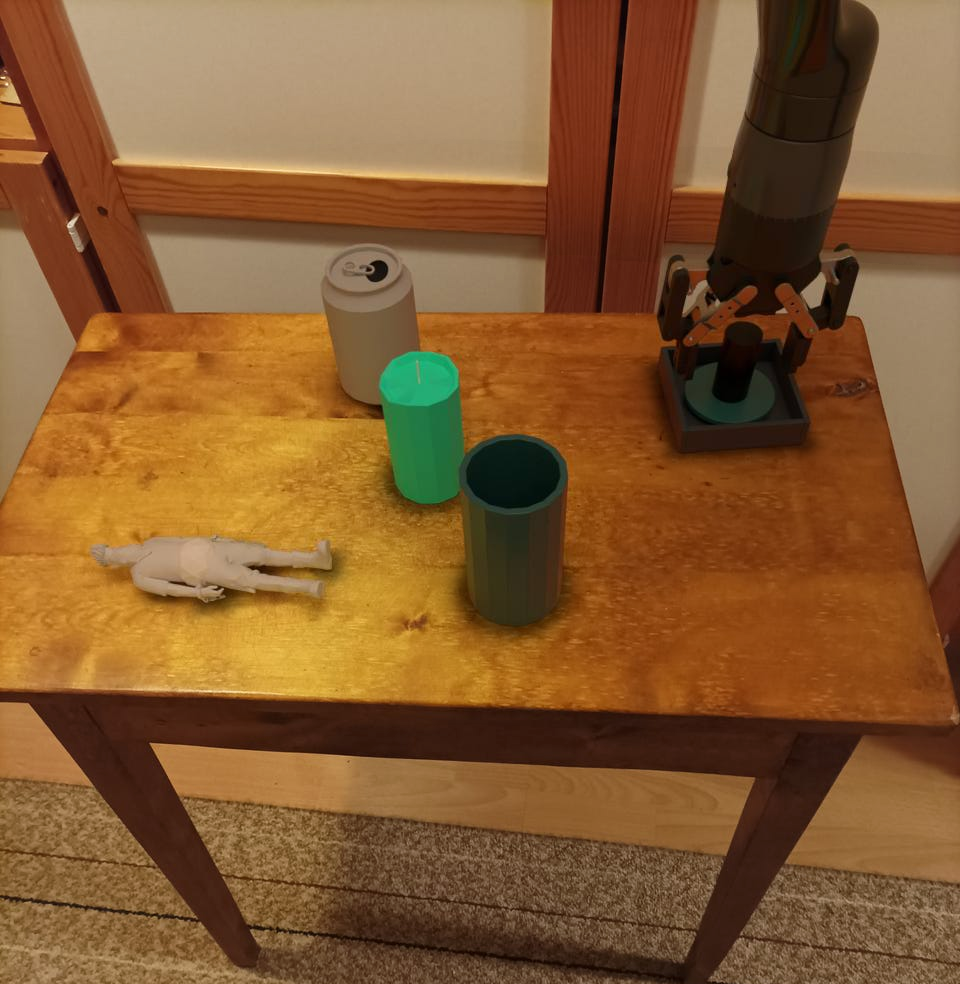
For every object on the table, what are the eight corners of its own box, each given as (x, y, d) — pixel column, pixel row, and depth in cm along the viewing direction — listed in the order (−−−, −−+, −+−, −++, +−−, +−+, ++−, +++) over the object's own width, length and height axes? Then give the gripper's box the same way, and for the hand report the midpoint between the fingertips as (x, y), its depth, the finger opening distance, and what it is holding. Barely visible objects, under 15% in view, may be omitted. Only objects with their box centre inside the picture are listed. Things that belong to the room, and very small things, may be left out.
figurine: (318, 591, 65) (66, 578, 65) (324, 625, 68) (84, 613, 68) (331, 520, 69) (95, 508, 69) (336, 555, 72) (110, 544, 72)
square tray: (773, 360, 82) (780, 337, 80) (803, 444, 76) (811, 422, 74) (657, 369, 82) (660, 346, 80) (678, 453, 76) (682, 431, 74)
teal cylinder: (555, 548, 71) (561, 430, 60) (565, 622, 67) (573, 509, 57) (466, 555, 71) (456, 437, 60) (470, 629, 67) (461, 517, 57)
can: (422, 410, 80) (407, 292, 70) (337, 412, 80) (311, 294, 70) (426, 354, 84) (412, 234, 74) (345, 355, 84) (321, 237, 74)
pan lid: (760, 368, 80) (780, 299, 74) (781, 429, 76) (803, 361, 70) (675, 374, 80) (687, 306, 74) (691, 435, 76) (706, 368, 70)
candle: (432, 440, 78) (419, 323, 68) (481, 476, 75) (475, 359, 65) (380, 478, 76) (358, 362, 66) (428, 516, 73) (414, 402, 63)
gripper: (689, 221, 60) (658, 408, 74) (904, 206, 60) (834, 395, 74) (670, 159, 64) (644, 347, 78) (871, 145, 64) (810, 335, 78)
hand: (736, 370), depth 76 cm, fingers open, 8 cm apart
